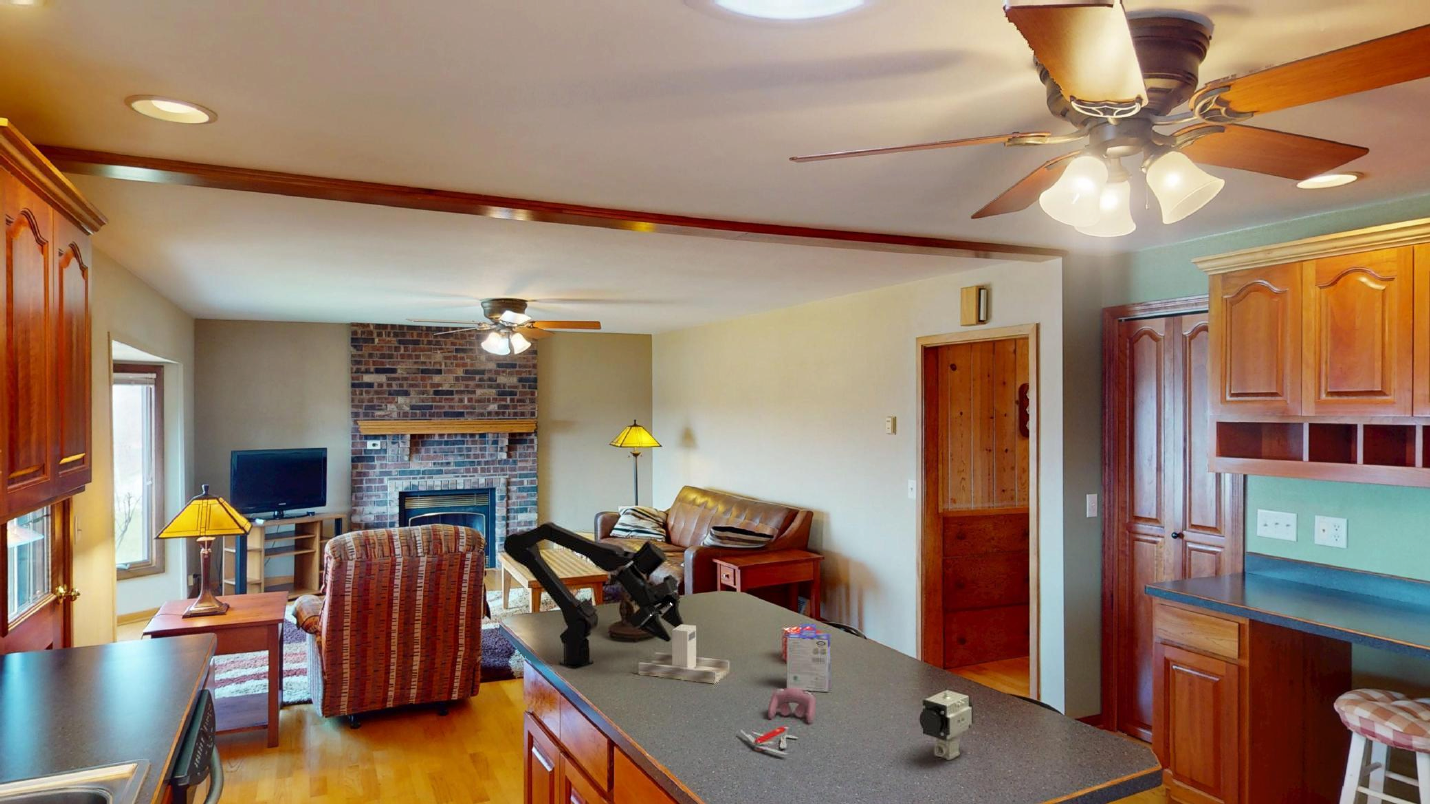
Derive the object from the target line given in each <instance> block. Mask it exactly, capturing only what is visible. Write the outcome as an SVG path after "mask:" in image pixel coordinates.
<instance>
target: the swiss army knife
mask: <svg viewBox="0 0 1430 804" xmlns="http://www.w3.org/2000/svg"><path fill="white" fill-rule="evenodd" d="M788 729H790V727H788V726H779V727H777V728H775V729H773V730H771V731H769V732H767V733H765V734H762V733H759V732H756V731H755V732H754V731H752V734H753V735H754V736H756V737H758V738H756V739H755V737H753V736H752V735H751V734H747V733H746V732H745V731H743V729H739V732H740V733H741V734H742V735H743V736H744V737H745V738H746V739H747V740H748V741H750V742H751V743H752V745H754V751H757V752H763V751H767V752H771V753H774V754H777V755H782V756H788V755H789V754H788V753H787V752H784V751H780V750H777V749H773V748H771V747H773V746H775V745H776V743H777V742H778V743H780V744H779V748H780V749H783V750H784V749H785V748H787V746H788V744H787V738H789V739H799V737H797V736H795V735H792V734H787V730H788ZM778 743H777V744H778ZM774 744H775V745H774ZM772 745H773V746H772ZM769 746H771V747H769ZM768 747H769V748H768Z"/></svg>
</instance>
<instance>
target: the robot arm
mask: <svg viewBox="0 0 1430 804" xmlns="http://www.w3.org/2000/svg"><path fill="white" fill-rule="evenodd" d="M544 540H547V541H549V542H552V543H553V544H556V545H558V546H560V547H563V548H565V549H567V550H570V551H572V552H575V553H577V554H579V555H581V556H583V557H585V558H587V559H589V560H590V562H592V564H593V565H595V566H597V567H598V568H600V569H601V570H603V571H605V572H607V573H611V572H615V571H616V570H618V569H619V568H621V567H622V568H621V569H620V570H618V572H616V573H611V574H610V580H609V586H616V585H617V584H619V585H620V587H621V586H622V587H623V588H624V590H625V591H626V592H627V593H628V594H629V596H630V597H631V598H630V599H629V601H630V602H634V604H635V603H636V604H637V606H638V607H639V609H638V610H637V611H636V612H635V613H634V614H633V615H632V616H631V617H630V624H631V625H632V627H633V628H634V629H636V628H638V627H639V626H640V625H641V626H640V627H639V628H638V629H639V630H642V631H645V632H647V633H650V634H652V635H653V636H654V637H656V638H658V639H660V640H663V641H664V642H667V643H669V642H670V641H671V640H672V637H671V636H670V634H669V633H668V631H667V630H666V628H665V626H664V625H663V623H662V622H661V621H660V619H661V620H663V621H665V622H667V623H668V624H669V625H670V626H672V627H674V628H676V627H678V626H679V625H681V624H683V625H685V623H684V622H683V618H682V617H681V614H680V611H679V605H680V603H681V600H680V599H681V596H680V595H679V593H677V592H676V591H679V587H678V583H679V580H678V579H676V577H674V576H673V575H672V574H669V575H667V576H666V575H665V577H663V580H662V582H660V583H657V584H656V583H655V582H654V581H647V580H646V579H645V578H644V576H643V575H642V574H644V575H645V574H646V573H647V574H649V575H650V576H651V575H652V574H654V572H655V571H657V570H658V569H659V568H660V567H661V566H662V565H663V564H664V563H665V562H667V556H666V554H665V552H664V551H663V550H662V549H661V547H658V546H657V545H656V544H654V543H652V541H650V540H647V541H645V542H644V543H643V544H642V546H641V547H640V548H639V549H638V550H637V551H635V552H634V551H627V550H625V549H624V548H623V547H622V546H619V545H616V544H612V543H608V542H607V543H606V542H601V541H594V540H592V539H590V538H587V537H585V536H583V535H580V534H578V533H575V532H573V531H572V530H569V529H567V528H564V527H562V526H559V525H558V524H556V523H554V522H553V521H547V522H545V523H542V524H540V525H539V526H537V527H534V528H532V529H529V530H519V531H516V532H514V533H511V534H509V535H507V536H506V537H505V538H504V541H503V550H504V552H505V553H506V555H508V556H509V557H510V558H512V559H513V561H515V562H516V563H517V564H520V565H522V566H523V567H525V568H526V569H527V570H528V571H529V572H530V573H531V574H532V576H533V577H534V578H535V580H536V581H537V582H538V583H539V584H540V586H541V587H542V588H543V589H544V591H545V592H546V593H547V594H548V595H549V597H550V598H551V599H552V600H553V601H554V603H555V604H556V606H557V607H558V608H559V609H560V610H561V613H562V617H563V620H564V622H565V625H566V626H567V628H566V629H565V630H564V631H563V632H562V633H561V634H560V635H559V639H560V641H561V643H562V644H563V660H560V661H558V664H559V665H562V666H565V667H567V668H571V669H579V668H581V667H584V666H588V665H592V664H594V660H592V659H590V657H591V656H590V655H591V654H590V651H591V650H590V649H591V648H590V640H589V639H588V637H589V636H591V634H592V631H594V630H595V628H596V627H597V626H598V623H599V616H598V614H597V609H596V608H594V607H593V606H592V604H591V602H590V601H589V600H588V598H585V599H584V600H580V599H578V598H576V597H575V596H574V594H573V593H572V592H571V590H570V589H569V588H568V587H567V586H566V584H565V583H564V582H563V581H562V579H561V578H560V577H559V576H558V575H557V574H556V572H555V571H554V570H553V569H552V567H551V566H550V565H549V563H547V561H546V560H545V559H544V558H543V556H542V554H541V551H540V548H539V545H538V543H540V542H542V541H544ZM630 563H631V564H630ZM629 564H630V565H629ZM627 565H629V566H628V567H626V566H627ZM640 572H641V573H642V574H641V573H640Z"/></svg>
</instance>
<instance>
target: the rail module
mask: <svg viewBox="0 0 1430 804" xmlns="http://www.w3.org/2000/svg"><path fill="white" fill-rule="evenodd" d="M683 624H684V623H683ZM683 624H681V625H679V626H678V627H676V628H675V627H674V628H673V629H672V630H671V632H672V634H671V635H672V637H671V640H672V642H671V643H672V644H671V647H672V649H671V650H672V651H671V654H672V666H676V667H685V668H694V667H696V657H697V626H696V625H694V624H693V625H691V624H684V625H683Z"/></svg>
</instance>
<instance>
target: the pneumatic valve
mask: <svg viewBox="0 0 1430 804" xmlns="http://www.w3.org/2000/svg"><path fill="white" fill-rule="evenodd" d="M973 723H974V706H973V702H972V701H971V694H967V693H963V692H960V691H957V690H952V689H949V688H948V689H947V690H944V691H942V692H939V693H937V694H935V695H932V696H930V697H927V698H925V699H923V700H922V711H921V712H920V714H919V724H920V726H921V728H922V735H927V736H930V737H932V738H934V739H933V741H934V743H935V744H934V747H933V751H934V752H933V753H934V754H933V755H934V756H935V757H941V758H943V759H946V760H947V761H951V760H953V759H955V758H957V757H958V756H960V750H959V747H960V738H959V737H957V735H959V734H961V733H963V732H965V731H967V730H969V729H971V725H972V724H973Z"/></svg>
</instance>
